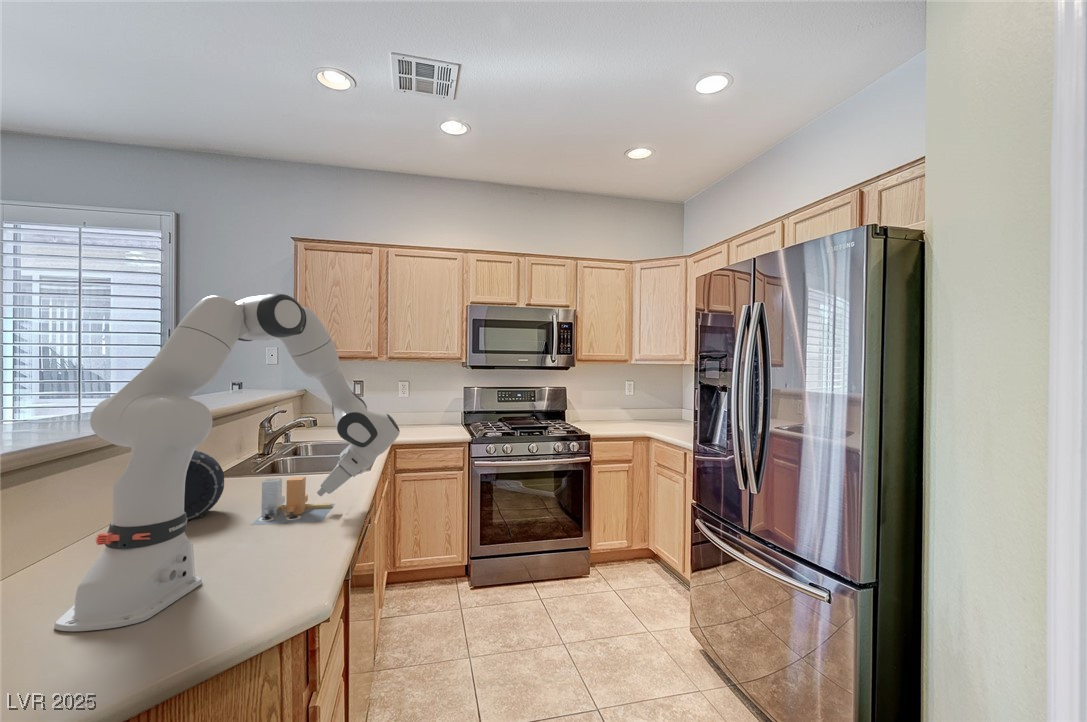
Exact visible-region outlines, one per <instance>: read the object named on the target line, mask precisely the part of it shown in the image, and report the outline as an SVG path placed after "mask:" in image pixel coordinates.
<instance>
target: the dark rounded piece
mask: <svg viewBox="0 0 1087 722" xmlns="http://www.w3.org/2000/svg"><path fill="white" fill-rule="evenodd" d="M224 488H225V473H224V470H223V468H222V466H221V465H220V463H219V462H218V461H217V460H216V459H215V458H214V457H213V456H212V455H209V454H207V453H205V452H202V451H200V450H195V451H194V453H193V455H192V458H191V460H190V463H189V466H188V469H187V473H186V479H185V496H184V511H185V512H186V516H187V522H189V521H192V520H194V519H197V518H202V517H203V516H204V515H205V514H206V513H207V512H209V511H210V510H212V508H213V507H215V505H216V504H217V503H218V502H219V500H220V498H221V496H222V495H223V492H224Z"/></svg>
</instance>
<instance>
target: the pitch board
mask: <svg viewBox="0 0 1087 722" xmlns="http://www.w3.org/2000/svg"><path fill="white" fill-rule="evenodd" d="M334 506H335V503H332V502H327V503H326V502H320V503H305V511H304V512H303V513H302V514H297V515H292V516H290V515H286V504H282V505H281V513H280V514H279V515H278V516H277V517H268V518H265V517H261V515H260V516H259V517H258V518H257V519H256V520H254V521H253V522H252V523H251V524H250V526H260V525H276V524H277V525H280V524H281V525H282V524H297V523H298V524H299V523H302V524H303V523H316V522H317V523H318V522H320V523H321V522H323V520H324V519H325V518H326V516H327V515H328V514H329V513H330V511H331V510H332V509H333V507H334Z"/></svg>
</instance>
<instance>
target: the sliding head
mask: <svg viewBox="0 0 1087 722" xmlns="http://www.w3.org/2000/svg"><path fill="white" fill-rule="evenodd" d="M306 478H307V476H290V477H289V478H288V479H286V495H285V503H286V504H285V505H286V515H290V516H292V515H297V514H302V513H303V512H304V511H305V504H307V502H308V501H309V495H308V494H306V480H307V479H306Z"/></svg>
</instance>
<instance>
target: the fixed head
mask: <svg viewBox="0 0 1087 722" xmlns="http://www.w3.org/2000/svg"><path fill="white" fill-rule="evenodd" d="M282 492H283V478H282V477H281V478H267V479H266V478H265V480H263V481H262V482H261V512H260V513H261V515H260V516H261V517H265V518H268V517H277V516H278V515H279V514H280V513H281V505H284V504H285V503H286V495H285V496H283V495H282V494H283V493H282Z"/></svg>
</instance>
